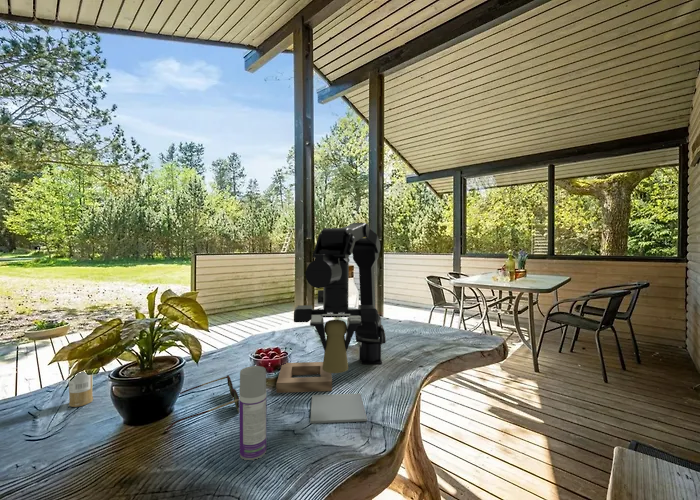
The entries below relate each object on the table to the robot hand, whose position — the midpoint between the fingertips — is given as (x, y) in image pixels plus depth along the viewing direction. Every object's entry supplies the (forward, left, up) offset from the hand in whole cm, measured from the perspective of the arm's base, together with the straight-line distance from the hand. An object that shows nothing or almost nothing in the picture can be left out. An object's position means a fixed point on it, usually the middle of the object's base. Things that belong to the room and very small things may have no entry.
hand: (335, 350), depth 77 cm
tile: (-1, 0, -13) cm, 13 cm away
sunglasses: (+30, -1, -14) cm, 33 cm away
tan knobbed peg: (0, 0, -4) cm, 4 cm away
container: (+15, +15, -13) cm, 26 cm away
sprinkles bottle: (+59, -7, -13) cm, 61 cm away
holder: (+7, -16, -13) cm, 22 cm away
